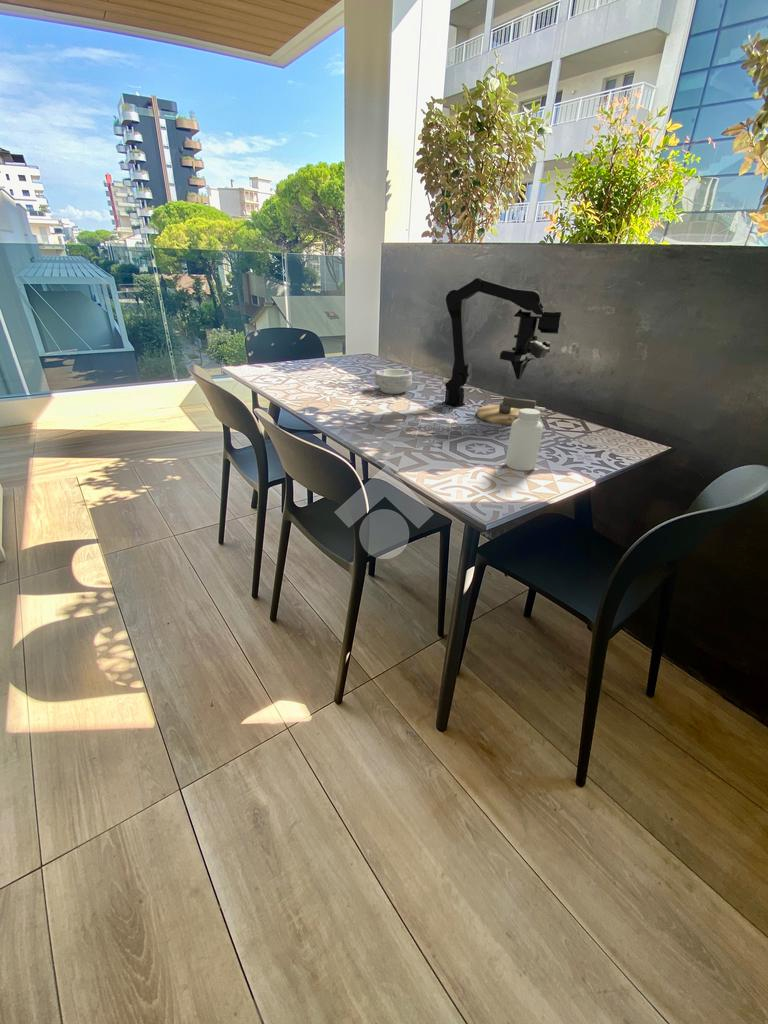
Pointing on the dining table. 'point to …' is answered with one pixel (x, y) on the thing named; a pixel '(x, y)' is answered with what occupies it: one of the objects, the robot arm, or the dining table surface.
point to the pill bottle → (524, 440)
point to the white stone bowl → (393, 380)
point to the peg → (517, 404)
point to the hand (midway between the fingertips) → (518, 378)
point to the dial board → (497, 415)
